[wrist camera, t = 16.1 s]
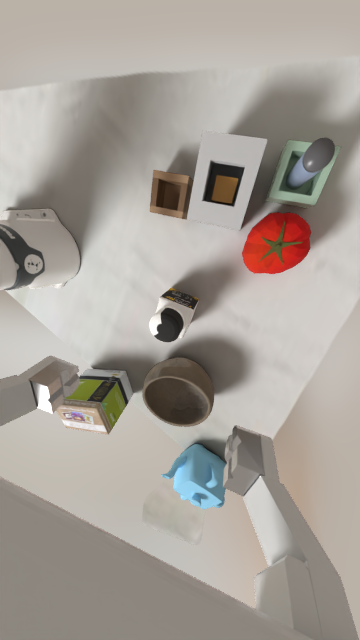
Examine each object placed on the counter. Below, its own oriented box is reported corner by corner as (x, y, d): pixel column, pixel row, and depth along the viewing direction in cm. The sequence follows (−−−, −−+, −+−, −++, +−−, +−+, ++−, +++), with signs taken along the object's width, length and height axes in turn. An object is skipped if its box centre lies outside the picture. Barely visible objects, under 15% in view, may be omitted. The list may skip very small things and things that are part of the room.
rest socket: (265, 200, 32) (268, 197, 29) (282, 150, 29) (288, 139, 25) (306, 208, 31) (315, 205, 28) (328, 157, 28) (341, 146, 24)
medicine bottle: (199, 298, 42) (187, 320, 32) (189, 324, 46) (175, 352, 35) (170, 287, 43) (149, 305, 33) (163, 313, 47) (141, 337, 36)
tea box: (97, 390, 67) (64, 428, 54) (87, 367, 63) (49, 402, 50) (134, 394, 62) (108, 436, 50) (126, 369, 59) (95, 408, 46)
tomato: (314, 240, 33) (336, 243, 25) (263, 282, 37) (269, 294, 30) (278, 199, 32) (290, 190, 24) (231, 247, 36) (229, 252, 29)
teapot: (227, 444, 61) (224, 496, 49) (228, 474, 67) (226, 526, 55) (173, 434, 66) (159, 478, 54) (179, 463, 72) (168, 508, 61)
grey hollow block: (197, 221, 36) (186, 219, 28) (211, 155, 31) (202, 130, 24) (239, 230, 35) (239, 230, 27) (260, 162, 30) (267, 139, 22)
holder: (158, 213, 37) (149, 211, 33) (163, 176, 35) (153, 169, 31) (187, 219, 36) (181, 218, 33) (194, 182, 34) (188, 175, 30)
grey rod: (282, 187, 30) (299, 169, 21) (290, 165, 29) (311, 136, 20) (301, 190, 29) (326, 172, 21) (310, 168, 28) (340, 139, 19)
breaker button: (213, 201, 32) (211, 199, 30) (218, 178, 30) (216, 175, 28) (231, 205, 31) (231, 203, 29) (238, 182, 30) (238, 178, 28)
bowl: (222, 397, 53) (219, 430, 44) (166, 398, 59) (153, 427, 51) (207, 345, 47) (200, 371, 38) (146, 352, 53) (128, 376, 45)
